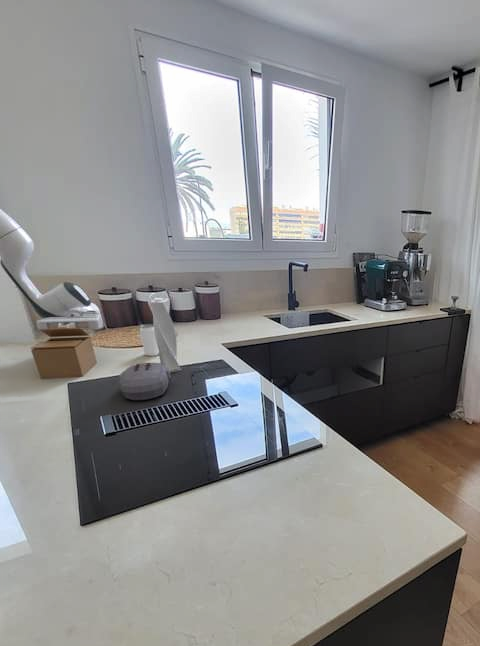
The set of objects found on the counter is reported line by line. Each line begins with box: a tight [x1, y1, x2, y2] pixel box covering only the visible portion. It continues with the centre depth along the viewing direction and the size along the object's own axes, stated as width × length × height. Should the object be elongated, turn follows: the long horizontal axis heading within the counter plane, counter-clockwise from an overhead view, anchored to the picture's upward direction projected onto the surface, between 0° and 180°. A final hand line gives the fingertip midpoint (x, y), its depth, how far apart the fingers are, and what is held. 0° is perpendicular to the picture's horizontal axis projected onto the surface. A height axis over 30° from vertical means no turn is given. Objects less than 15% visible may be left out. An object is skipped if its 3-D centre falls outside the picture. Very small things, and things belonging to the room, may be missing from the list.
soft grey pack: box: [118, 362, 172, 401], centre depth 128 cm, size 15×8×20 cm
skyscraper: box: [147, 292, 183, 374], centre depth 143 cm, size 8×8×28 cm
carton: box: [30, 336, 98, 380], centre depth 142 cm, size 15×13×11 cm
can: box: [139, 323, 159, 357], centre depth 162 cm, size 6×6×12 cm
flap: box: [38, 328, 90, 338], centre depth 143 cm, size 7×13×1 cm
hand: (62, 328), depth 142 cm, fingers closed
